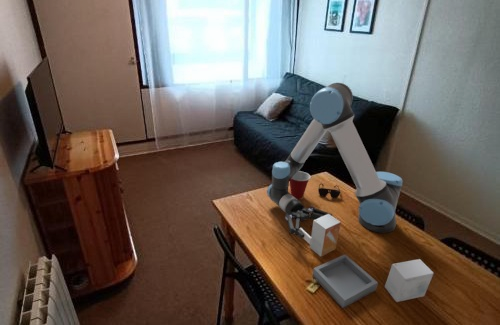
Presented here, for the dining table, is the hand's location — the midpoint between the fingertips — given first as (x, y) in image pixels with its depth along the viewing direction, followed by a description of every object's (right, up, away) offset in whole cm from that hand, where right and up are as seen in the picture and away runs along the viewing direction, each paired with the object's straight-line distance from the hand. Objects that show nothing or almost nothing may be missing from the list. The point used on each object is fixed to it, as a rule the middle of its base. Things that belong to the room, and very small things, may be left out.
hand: (325, 235), depth 111 cm
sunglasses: (+12, +12, +42) cm, 45 cm away
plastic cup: (-5, +10, +37) cm, 39 cm away
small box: (0, -6, +4) cm, 7 cm away
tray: (+3, -13, -11) cm, 17 cm away
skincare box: (+22, -15, -14) cm, 30 cm away
